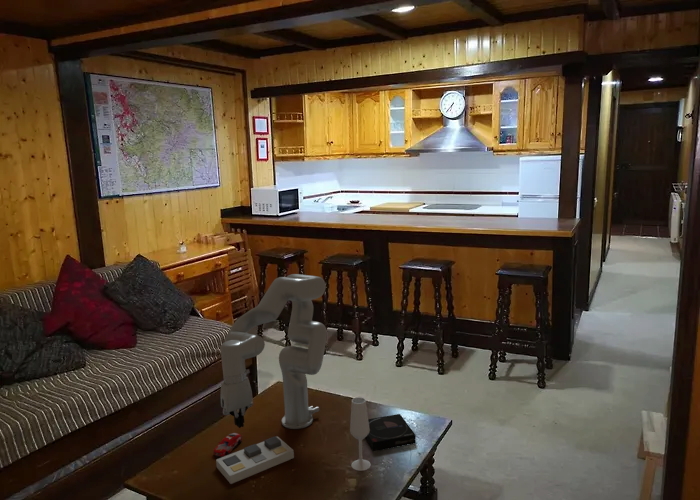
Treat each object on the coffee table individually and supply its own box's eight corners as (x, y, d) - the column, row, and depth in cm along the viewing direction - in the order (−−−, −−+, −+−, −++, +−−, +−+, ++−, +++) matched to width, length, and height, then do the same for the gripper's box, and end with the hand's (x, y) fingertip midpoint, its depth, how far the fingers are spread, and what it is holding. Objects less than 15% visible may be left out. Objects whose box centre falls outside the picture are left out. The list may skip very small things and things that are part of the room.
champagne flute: (357, 472, 180) (354, 407, 176) (347, 462, 186) (345, 398, 182) (374, 466, 183) (372, 401, 179) (364, 457, 189) (362, 394, 185)
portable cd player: (399, 422, 213) (399, 413, 212) (415, 444, 197) (415, 434, 196) (359, 429, 209) (359, 419, 208) (373, 452, 193) (372, 442, 192)
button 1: (235, 463, 188) (234, 455, 188) (240, 468, 185) (240, 460, 184) (223, 467, 186) (222, 459, 185) (228, 473, 182) (228, 465, 182)
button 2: (275, 443, 197) (275, 436, 197) (281, 448, 194) (280, 441, 193) (264, 447, 195) (264, 440, 194) (270, 453, 191) (269, 445, 191)
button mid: (255, 451, 193) (255, 443, 192) (261, 456, 189) (260, 449, 189) (244, 455, 190) (243, 448, 190) (250, 461, 187) (249, 453, 186)
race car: (223, 460, 191) (221, 449, 191) (210, 457, 194) (209, 446, 193) (244, 441, 203) (243, 431, 202) (233, 438, 205) (232, 428, 205)
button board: (277, 443, 200) (277, 435, 199) (293, 457, 190) (293, 449, 190) (216, 467, 186) (216, 459, 186) (230, 484, 177) (230, 475, 176)
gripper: (250, 366, 189) (254, 414, 192) (209, 379, 180) (215, 428, 184) (259, 374, 182) (264, 422, 186) (217, 387, 174) (223, 438, 178)
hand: (239, 425), depth 185 cm, fingers closed
